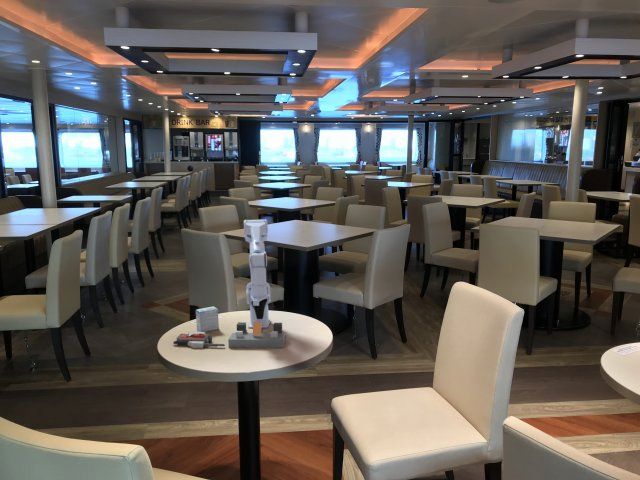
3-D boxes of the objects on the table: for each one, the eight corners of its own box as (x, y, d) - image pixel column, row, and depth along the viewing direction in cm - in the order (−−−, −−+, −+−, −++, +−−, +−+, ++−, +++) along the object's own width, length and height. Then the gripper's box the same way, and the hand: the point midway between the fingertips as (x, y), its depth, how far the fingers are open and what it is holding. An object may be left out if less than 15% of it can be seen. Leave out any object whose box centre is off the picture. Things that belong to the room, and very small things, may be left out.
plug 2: (277, 331, 206) (276, 317, 205) (284, 331, 206) (284, 317, 205) (273, 340, 197) (273, 325, 196) (281, 340, 197) (281, 325, 196)
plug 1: (242, 331, 207) (241, 317, 206) (249, 331, 207) (249, 317, 206) (237, 340, 198) (236, 324, 197) (244, 340, 198) (244, 325, 197)
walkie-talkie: (171, 348, 191) (224, 350, 189) (170, 337, 191) (223, 338, 189) (179, 340, 200) (230, 341, 198) (179, 329, 199) (230, 330, 197)
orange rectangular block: (253, 335, 193) (253, 322, 195) (261, 335, 193) (261, 322, 194) (252, 335, 192) (253, 321, 194) (260, 335, 192) (261, 321, 193)
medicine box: (215, 326, 214) (214, 306, 213) (219, 329, 211) (218, 308, 209) (196, 330, 210) (195, 309, 208) (200, 333, 206) (199, 312, 205)
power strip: (232, 340, 198) (232, 327, 197) (285, 340, 196) (284, 328, 196) (228, 347, 191) (228, 334, 190) (282, 347, 189) (282, 334, 189)
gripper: (266, 289, 189) (267, 324, 192) (272, 279, 204) (273, 312, 206) (247, 289, 190) (248, 324, 192) (254, 279, 204) (255, 312, 206)
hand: (259, 318), depth 199 cm, fingers closed
